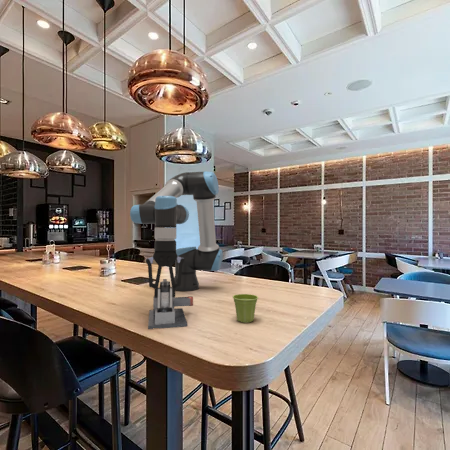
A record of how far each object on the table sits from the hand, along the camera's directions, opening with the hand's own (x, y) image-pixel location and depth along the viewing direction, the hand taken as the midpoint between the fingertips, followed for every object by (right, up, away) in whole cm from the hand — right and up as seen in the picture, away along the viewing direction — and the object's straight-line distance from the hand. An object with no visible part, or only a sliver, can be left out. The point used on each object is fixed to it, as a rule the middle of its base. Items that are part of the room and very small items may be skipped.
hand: (164, 306), depth 98 cm
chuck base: (0, -6, +5) cm, 8 cm away
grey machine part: (+1, -5, +10) cm, 12 cm away
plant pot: (+29, -7, +5) cm, 30 cm away
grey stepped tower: (0, -4, 0) cm, 4 cm away
